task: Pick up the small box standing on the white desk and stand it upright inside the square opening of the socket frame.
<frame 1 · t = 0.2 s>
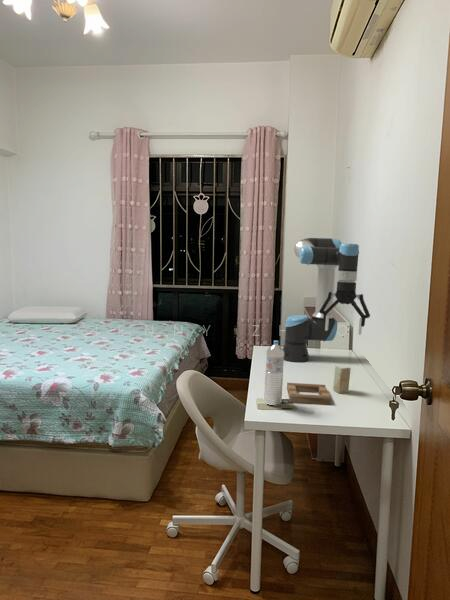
hand: (342, 332, 179), 26 cm above the table, fingers open, 13 cm apart
box: (340, 391, 184), on the table
water bottle: (272, 403, 168), on the table
socket: (307, 396, 177), on the table
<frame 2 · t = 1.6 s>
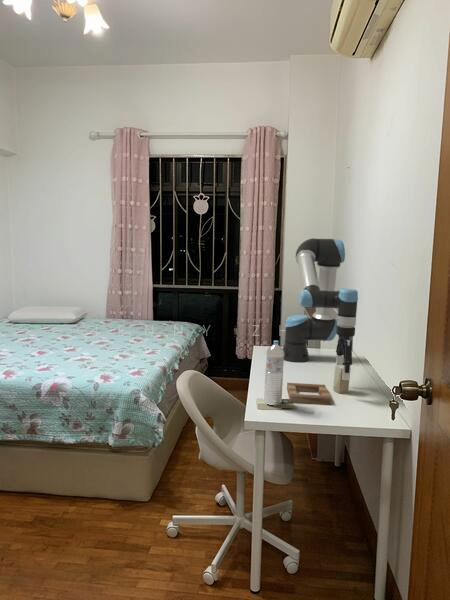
hand: (342, 375, 183), 7 cm above the table, fingers open, 13 cm apart
nothing on the table moved.
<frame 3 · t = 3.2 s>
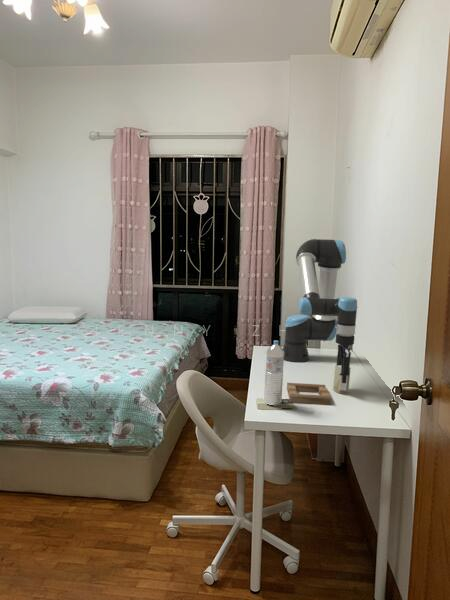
hand: (341, 387, 184), 2 cm above the table, fingers closed on box, 6 cm apart
box: (340, 391, 184), on the table, touching gripper
everything else where it was.
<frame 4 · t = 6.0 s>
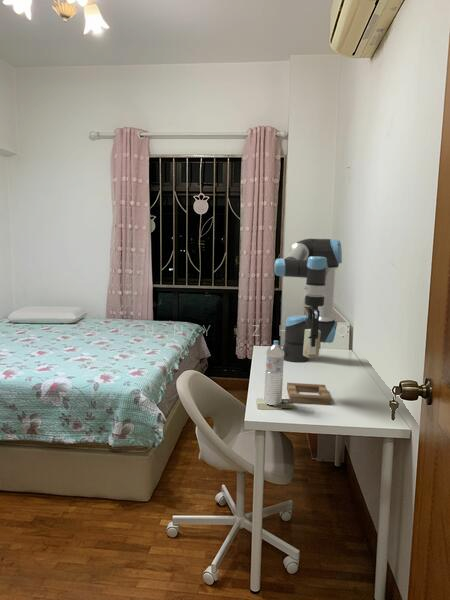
hand: (311, 351, 174), 19 cm above the table, fingers closed on box, 6 cm apart
box: (310, 356, 175), point 17 cm above the table, touching gripper
everything else where it was.
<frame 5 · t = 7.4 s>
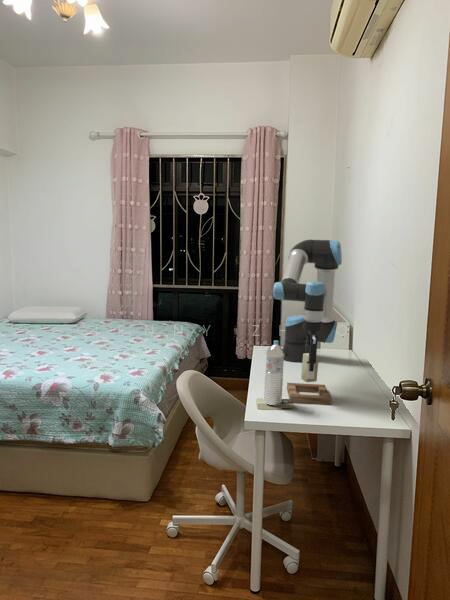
hand: (309, 375, 176), 9 cm above the table, fingers closed on box, 6 cm apart
box: (308, 380, 176), point 7 cm above the table, touching gripper
everything else where it was.
when the fingers open (4 cm above the table, at t = 8.8 s): box drops 2 cm, resting in socket.
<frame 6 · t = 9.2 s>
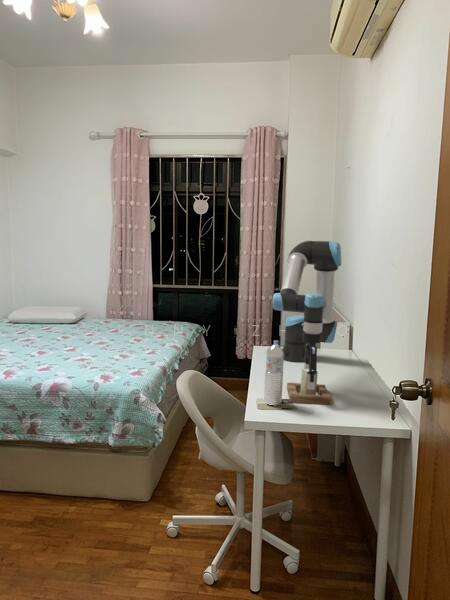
hand: (308, 383, 176), 5 cm above the table, fingers open, 11 cm apart
box: (307, 396, 177), resting in socket
everything else where it was.
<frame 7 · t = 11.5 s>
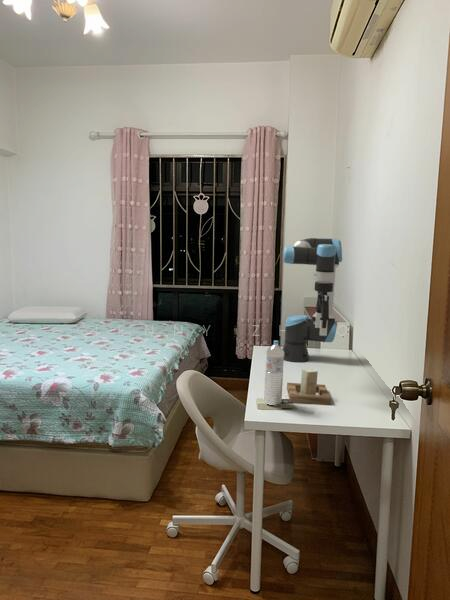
hand: (320, 331, 182), 25 cm above the table, fingers open, 13 cm apart
nothing on the table moved.
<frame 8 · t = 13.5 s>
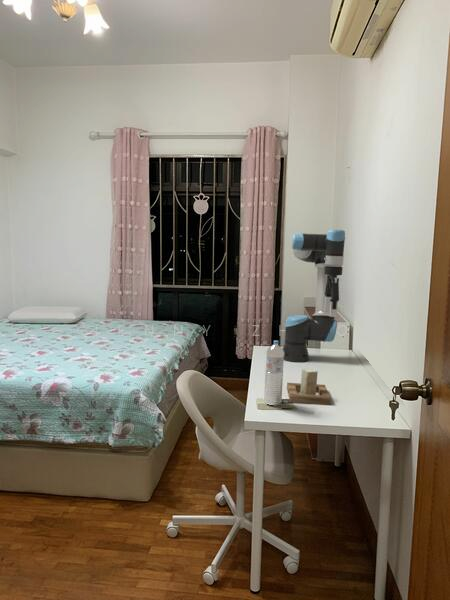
hand: (330, 313, 190), 32 cm above the table, fingers open, 13 cm apart
nothing on the table moved.
at the end: box 0.2 cm from the socket (horizontally); box tilted 0°; box touching table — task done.
